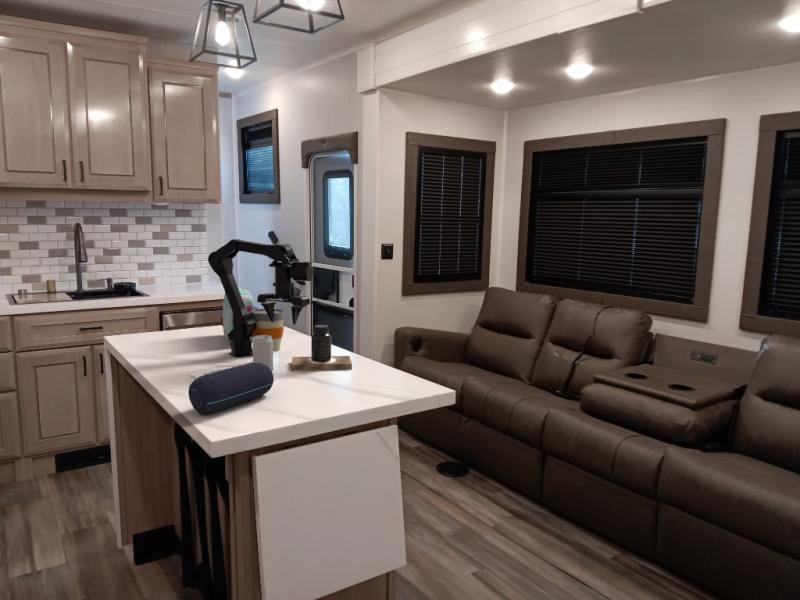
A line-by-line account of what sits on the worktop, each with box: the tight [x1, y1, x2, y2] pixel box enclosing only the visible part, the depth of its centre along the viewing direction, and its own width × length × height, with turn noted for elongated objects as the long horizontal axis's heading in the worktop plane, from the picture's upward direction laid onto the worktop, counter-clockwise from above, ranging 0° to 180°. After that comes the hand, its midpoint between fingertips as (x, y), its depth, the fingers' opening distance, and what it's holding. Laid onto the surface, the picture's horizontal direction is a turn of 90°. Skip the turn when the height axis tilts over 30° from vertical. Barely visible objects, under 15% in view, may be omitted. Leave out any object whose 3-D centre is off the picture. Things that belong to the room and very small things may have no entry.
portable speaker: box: [187, 361, 275, 414], centre depth 159 cm, size 25×10×10 cm, turn 148°
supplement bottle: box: [310, 324, 332, 362], centre depth 200 cm, size 7×7×12 cm
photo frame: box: [188, 365, 233, 379], centre depth 185 cm, size 15×1×18 cm
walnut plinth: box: [291, 355, 353, 371], centre depth 201 cm, size 20×11×2 cm, turn 99°
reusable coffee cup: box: [252, 308, 286, 352], centre depth 222 cm, size 13×13×15 cm
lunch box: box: [220, 286, 255, 344], centre depth 238 cm, size 27×10×21 cm, turn 25°
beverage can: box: [252, 335, 274, 372], centre depth 191 cm, size 6×6×12 cm
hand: (283, 323), depth 208 cm, fingers open, 9 cm apart
